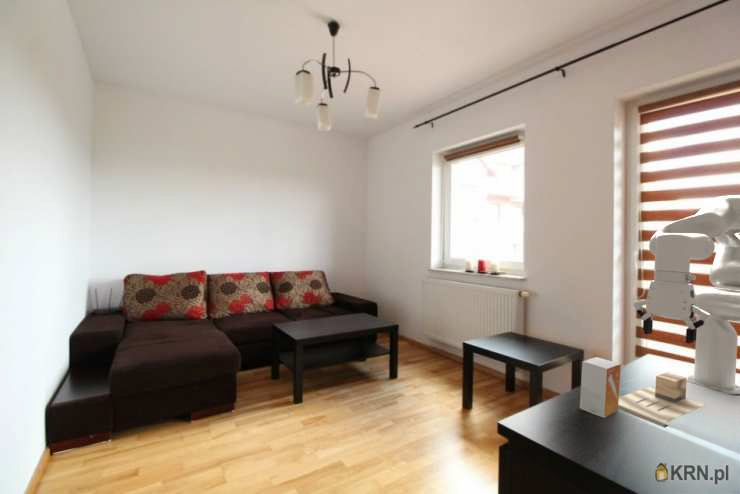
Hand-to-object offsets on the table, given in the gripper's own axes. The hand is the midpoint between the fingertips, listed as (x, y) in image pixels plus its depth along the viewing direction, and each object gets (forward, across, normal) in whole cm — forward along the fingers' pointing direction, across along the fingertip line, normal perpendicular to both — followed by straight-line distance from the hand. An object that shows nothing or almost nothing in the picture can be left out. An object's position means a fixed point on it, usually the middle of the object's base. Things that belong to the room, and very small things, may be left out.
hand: (668, 338), depth 100 cm
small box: (+19, +6, +21) cm, 29 cm away
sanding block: (+18, 0, -4) cm, 18 cm away
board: (+19, 0, +4) cm, 19 cm away
